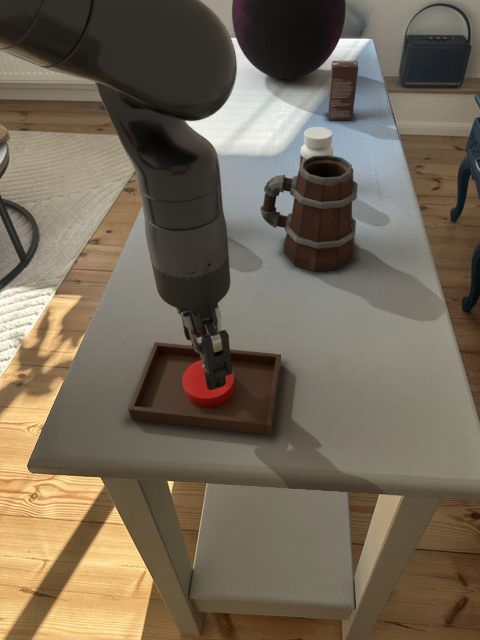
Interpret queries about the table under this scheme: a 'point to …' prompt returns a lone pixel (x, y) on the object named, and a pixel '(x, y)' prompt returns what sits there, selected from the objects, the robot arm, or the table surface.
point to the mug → (316, 212)
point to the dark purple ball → (288, 34)
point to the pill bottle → (316, 143)
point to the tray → (235, 414)
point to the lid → (205, 387)
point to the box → (342, 90)
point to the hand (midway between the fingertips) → (204, 360)
